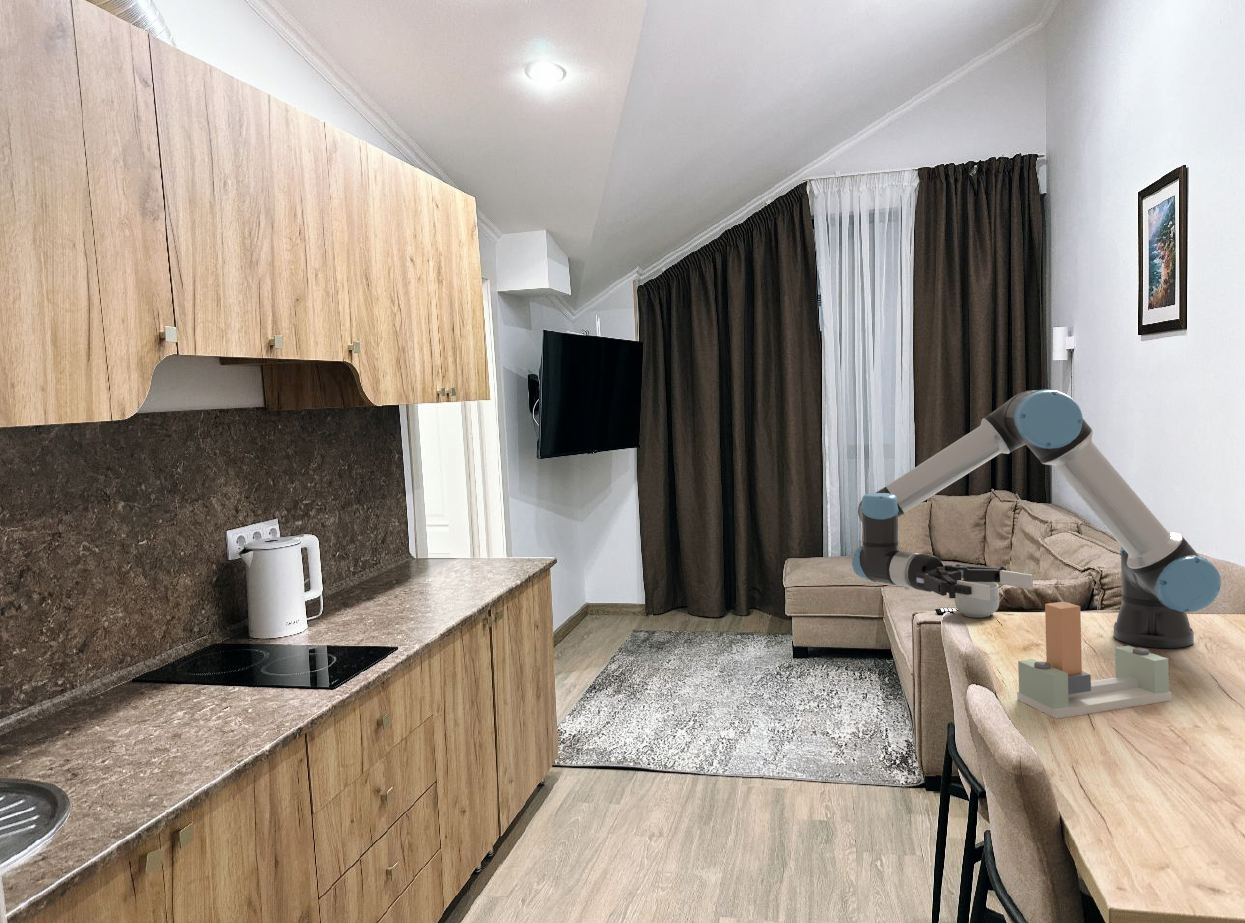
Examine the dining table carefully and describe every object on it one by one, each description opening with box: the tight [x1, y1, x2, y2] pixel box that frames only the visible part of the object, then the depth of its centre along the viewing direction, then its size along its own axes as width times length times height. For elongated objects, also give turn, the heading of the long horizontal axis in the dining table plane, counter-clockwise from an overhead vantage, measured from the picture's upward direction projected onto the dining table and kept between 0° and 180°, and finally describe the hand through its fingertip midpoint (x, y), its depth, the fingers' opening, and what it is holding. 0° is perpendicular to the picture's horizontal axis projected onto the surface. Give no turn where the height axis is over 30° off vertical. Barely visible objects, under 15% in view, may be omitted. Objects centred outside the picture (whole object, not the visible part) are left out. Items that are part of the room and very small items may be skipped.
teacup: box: [954, 582, 1000, 619], centre depth 218 cm, size 14×11×8 cm
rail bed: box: [1016, 676, 1172, 720], centre depth 155 cm, size 24×10×3 cm, turn 103°
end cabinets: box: [1017, 645, 1170, 709], centre depth 155 cm, size 24×9×7 cm, turn 102°
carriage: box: [1044, 601, 1092, 694], centre depth 153 cm, size 5×7×15 cm
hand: (1011, 587), depth 161 cm, fingers open, 13 cm apart
